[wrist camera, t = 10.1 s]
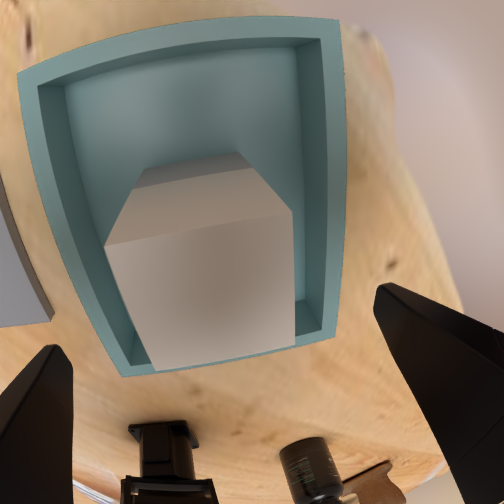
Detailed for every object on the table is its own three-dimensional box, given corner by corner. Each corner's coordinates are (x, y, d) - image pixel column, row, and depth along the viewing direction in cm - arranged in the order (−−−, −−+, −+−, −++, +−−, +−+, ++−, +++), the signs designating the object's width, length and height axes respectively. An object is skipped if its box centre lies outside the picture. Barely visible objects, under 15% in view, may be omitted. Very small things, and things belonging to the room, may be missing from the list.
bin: (313, 300, 22) (334, 336, 19) (127, 335, 20) (121, 377, 17) (306, 33, 13) (338, 20, 10) (51, 75, 11) (16, 73, 8)
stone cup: (388, 455, 52) (412, 505, 39) (391, 463, 58) (412, 506, 45) (328, 484, 53) (347, 534, 40) (338, 488, 59) (356, 532, 46)
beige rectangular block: (238, 152, 15) (292, 211, 8) (248, 237, 18) (295, 344, 10) (143, 169, 15) (103, 246, 7) (163, 253, 17) (155, 371, 10)
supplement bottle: (330, 442, 38) (357, 507, 27) (290, 460, 38) (312, 525, 28) (315, 432, 34) (345, 507, 24) (270, 451, 35) (293, 526, 25)
